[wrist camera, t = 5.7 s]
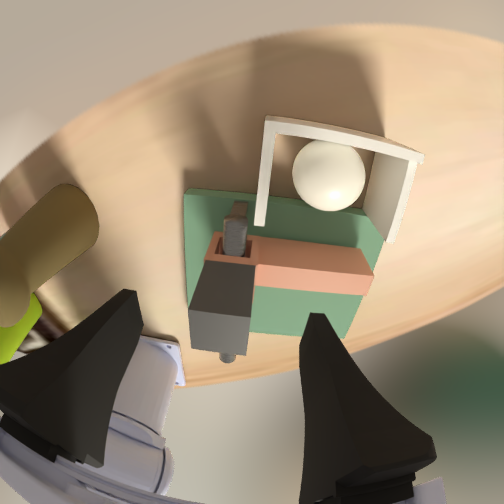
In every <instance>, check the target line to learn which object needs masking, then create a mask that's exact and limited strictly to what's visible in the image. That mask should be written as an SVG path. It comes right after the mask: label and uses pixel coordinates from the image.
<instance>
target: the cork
mask: <svg viewBox="0 0 504 504" xmlns="http://www.w3.org/2000/svg"><path fill="white" fill-rule="evenodd" d="M98 233H99V222H98V216H97V213H96V211H95V208H94V206H93V204H92V202H91V201H90V200H89V198H88V197H87V195H86V194H85V193H84V192H82V191H81V190H80V189H79V188H77V187H75V186H73V185H70V184H60V185H58V186H56V187H54V188H53V189H52V190H51V191H50V192H48V193H47V194H46V195H45V196H44V197H43V198H42V199H41V200H39V201H38V202H37V203H36V204H35V205H34V206H33V207H32V208H31V209H30V210H29V211H28V212H27V213H26V214H25V215H24V216H23V217H22V218H21V219H20V220H19V221H18V222H17V223H16V224H15V225H14V226H13V227H12V228H11V229H10V230H9V231H8V232H7V233H6V234H5V235H4V236H3V237H2V239H1V240H0V326H1V327H6V328H7V327H11V326H14V325H15V324H16V323H18V322H19V321H20V320H21V319H22V318H23V316H24V315H25V314H26V312H27V310H28V307H29V305H30V298H31V294H32V293H33V292H34V291H35V290H36V289H38V288H39V287H40V286H41V285H42V284H44V283H45V282H46V281H47V280H49V279H50V278H51V277H52V276H54V275H55V274H56V273H57V272H59V271H60V270H61V269H62V268H64V267H65V266H66V265H68V264H69V263H70V262H72V261H73V260H74V259H76V258H77V257H78V256H80V255H81V254H82V253H84V252H85V251H86V250H88V249H89V248H90V247H91V246H93V245H94V244H95V242H96V240H97V238H98Z"/></svg>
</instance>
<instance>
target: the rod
mask: <svg viewBox="0 0 504 504" xmlns="http://www.w3.org/2000/svg"><path fill="white" fill-rule="evenodd" d="M247 209H248V202H247V201H237V200H235V201H234V204H233V207H232V210H231V213H230V215H227V216H225V217H224V228H223V249H222V255H228V256H237V257H245V249H246V239H247V228H248V218H247ZM219 357H220V360H221V361H222V362H224V363H231V362H233V361H234V360H235V358H236V354H227V353H220V352H219Z"/></svg>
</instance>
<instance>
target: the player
mask: <svg viewBox="0 0 504 504" xmlns="http://www.w3.org/2000/svg"><path fill="white" fill-rule="evenodd" d="M222 249H223V232H218V231H215V232H214V234H213V237H212V239H211V242H210V244H209V247H208V250H207V252H206V255H205V257H204V266H203V268H202V271H201V274H200V277H199V279H198V282H197V285H196V288H195V291H194V294H193V296H192V299H191V302H190V305H189V308H188V317H189V328H190V339H191V348H193V349H199V350H206V351H212V352H220V353H227V354H236V355H244V356H246V351H247V344H248V336H249V329H250V321H251V311H252V303H253V299H254V291H255V285H256V286H265V287H274V288H284V289H294V290H305V291H316V292H327V293H339V294H351V295H364V296H367V293H368V291H369V288H370V286H371V283H372V281H373V278H374V274H373V272H372V270H371V268H370V266H369V264H368V262H367V260H366V258H365V256H364V254H363V252H362V250H361V249H360V248H352V247H344V246H336V245H328V244H320V243H312V242H303V241H295V240H287V239H278V238H269V237H260V236H255V235H247V239H246V249H245V257H237V256H228V255H222Z"/></svg>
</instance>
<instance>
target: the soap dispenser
mask: <svg viewBox="0 0 504 504" xmlns="http://www.w3.org/2000/svg"><path fill="white" fill-rule="evenodd" d="M41 314H42V308H41V305H40V303H39V301H38V299H37V297H36V296H35V294H34V293H32V294H31V298H30V305H29V307H28V310H27V312H26V314H25V315H24V316H23V318H22V319H21V320H20V321H19V322H18V323H16V324H15V325H14V326H11V327H7V328H6V327H1V326H0V364H3V363H7V362H9V361H10V359H11V358H12V356H13V355H14V353H15V352H16V350H17V349H18V347H19V346H20V344H21V343H22V341H23V340H24V338H25V337H26V335H27V334H28V332H29V331H30V330H31V328H32V327H33V325H34V324H35V323H36V321H37V320H38V318H39V317H40V316H41Z"/></svg>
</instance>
